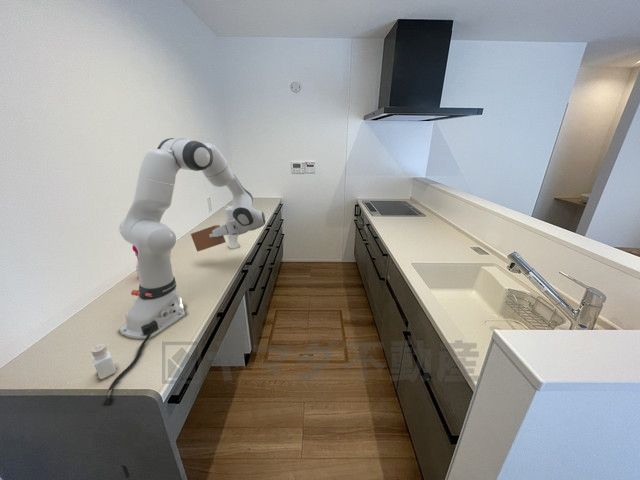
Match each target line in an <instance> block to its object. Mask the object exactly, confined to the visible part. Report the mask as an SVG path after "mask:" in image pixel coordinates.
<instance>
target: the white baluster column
mask: <svg viewBox="0 0 640 480" xmlns="http://www.w3.org/2000/svg"><path fill="white" fill-rule="evenodd" d="M222 207H223V210H224V213H225V224H226V223H227V222H230V221H231V220H233V219H234V217H233V214H232V211H233V205H223V206H222ZM225 207H227V208H225ZM226 236H227V239H228V247H229V248H230V249H232V250H233V249H237V248H240V247H241V246H240V244H239V242H238V240H239V239H238V238H239V235H238V236H235V235H226Z"/></svg>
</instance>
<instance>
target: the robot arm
mask: <svg viewBox="0 0 640 480" xmlns="http://www.w3.org/2000/svg"><path fill="white" fill-rule="evenodd" d="M180 169H181V170H185V171H186V170H187V171H194V172H199V171H201V172H202V174H203V176H204V177H205V178H206V179H207V181H208V182H209V183H210V184H211V185H212V186H214V187H217V188H222V187H226V188H228V190H229V191H230V193H231V195H232V206H233V211H232V214H233V217H234V219H233V220H231V221H230V222H227V223H226V222H225V224H223V225H220V227H218V228H216V229H214V230H213V231H212V234H209V236H210V237H219V236H227V235H235V236H238V237H239V236H241V235H243V234H247V233H248V232H250V231H251V232H253V231H255V230H258V229H260V228H262V227H264V226H265V225H266V216H265V212H264V211H263V210H258V209H256V208H254V207H253V201H254V198H253V195H252V193H250V192H249V191H248V190H247V189H245V188H244V186H243V185H242V183H241V182H240V180H239V179H238V177H237V176H236V174H235V173H234V172H233V170H232V168H231V167H230V165H229V163H228V161H227V160H226V158H225V156H224V155H223V154H222V152H221V151H220V150H219V149H218V147H217V146H216V145H214V144H213V143H212V142H211V143H210V142H200V141H198V140H191V139H187V138H174V137H170V138H166V139H164V140H162V141H161V142H160V143H159V145H158V147H157V148H151V149H149V150H147V151H146V152H145V154H144V156H143V159H142V161H141V165H140V166H139V171H138V176H137V182H136V186H135V191H134V196H133V200H132V203H131V205H130V207H129V209H128V212H127V214H126V215H125V218H123V219H122V221H120V223H119V225H118V231H119V234H120V236H121V237H122V238H123V240H124V241H125V242H127V243H128V244H130V245H132V246H133V245H134V246H135V247H136V248H137V250H138V259H137V262H138V263H136V265H135V270H136V269H137V270H136V273H137V277H138V281H139V285H138V289H137V290H136V289H132V290H131V291H130V295H131V296H135V297H137V298H136V299H135V300H134V302H133V303H132V305H131V306H130V308H129V310H128V311H127V312H126V313H125V323H124V324H123V325H122V326H120V328H119V333H120V334H121V335H122V336H124V337H127V338H130V339H137V340H140V339H143V341H142V343H140V346H139V348H138V350H137V353H136V356H135V357H134V358H133V360H132V362H131V363H130V364H129V365H128V366H127V367H126V368H125V369H124V370H123V371H122V372H120V373H119V375H117V376H116V378H114V380H113V382H112V383H111V385H110V386H109V388H108V390H111V389H112V391H113V389H114V388H115V386H116V385H117V383H118V381H119V380H121V378H122V377H123V376H124V375H125V374H126V373H127V372H128V371H129V370H131V368H133V366H134V365H135V364H136V363H137V361H138V360H139V358H140V356H141V354H142V351H143V348H144V346H145V344H146V343H147V342H148V341H149V339H150V338H153V337H154V336H156V335H157V334H159V333H160V332H162V331H163V330H165V329H167V328H168V327H170V326H171V325H173V324H174V323H176V322H177V321H179V320H181V318H183V317H185V316H186V311H185V310H184V309H185V306H184V304H183V302H182V297H180V295H179V293H178V290H177V281H176V277H175V276H174V272H173V266H172V262H171V257H172V250H173V249H174V247H175V246H176V243H177V236H176V234H175V231H173V230H172V229H171V228H170V227H169V226H168V225H166V224H165V223H162V222H161V219H162V218H163V215H164V213H165V212H166V211H167V210H168V209H169V208H170V207H171V205H172V201H173V195H174V189H175V184H176V177H177V174H178V172H179V171H180ZM111 399H112V395H111V396H110V398H107V397H106V400H105V406H109V405H110V404H111ZM120 466H121V468H122V470H123V473H124V476H125V478H126V479H129V478H130V473H129V470H128V467H127V466H126V465H123V464H120Z"/></svg>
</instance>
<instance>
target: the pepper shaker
mask: <svg viewBox="0 0 640 480" xmlns="http://www.w3.org/2000/svg"><path fill="white" fill-rule="evenodd" d="M90 352H91V355H92V358H91V360H92V363H93V366H94V369H95V371H96V374H97V377H98V378H99V379H100V380H103V379H106V378H107V377H109V376H111V375H113V374H116V372H117V369H116V365H115V362H114V359H113V357H112V355H111V352H110V351H109V350H108V349H107V345H106V344H105V343H100V344H97V345H95V346H93V347H92V348H91V351H90Z"/></svg>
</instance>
